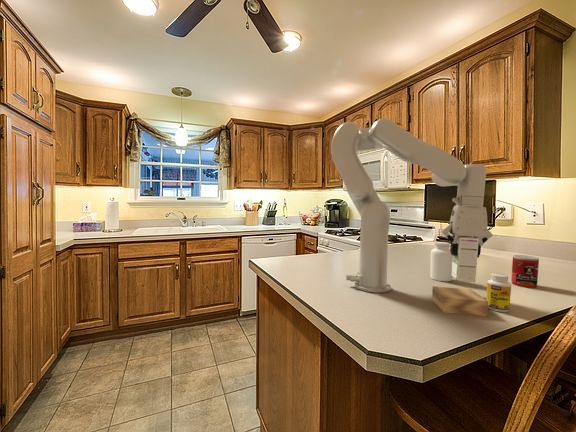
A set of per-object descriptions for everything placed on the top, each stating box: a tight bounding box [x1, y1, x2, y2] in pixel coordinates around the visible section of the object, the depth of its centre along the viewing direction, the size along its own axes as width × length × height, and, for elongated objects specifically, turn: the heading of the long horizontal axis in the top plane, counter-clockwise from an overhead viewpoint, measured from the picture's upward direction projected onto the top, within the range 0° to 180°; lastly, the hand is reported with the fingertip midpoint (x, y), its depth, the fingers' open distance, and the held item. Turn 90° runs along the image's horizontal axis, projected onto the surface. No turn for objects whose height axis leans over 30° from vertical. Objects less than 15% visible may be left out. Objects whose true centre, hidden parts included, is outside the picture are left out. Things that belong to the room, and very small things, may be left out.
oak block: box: [431, 286, 489, 317], centre depth 83 cm, size 11×11×4 cm
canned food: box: [511, 254, 540, 289], centre depth 107 cm, size 8×8×11 cm
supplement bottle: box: [485, 272, 512, 313], centre depth 82 cm, size 6×6×10 cm
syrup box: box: [451, 236, 479, 283], centre depth 94 cm, size 6×6×14 cm
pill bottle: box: [429, 241, 453, 282], centre depth 114 cm, size 8×8×15 cm
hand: (464, 255), depth 94 cm, fingers closed on syrup box, 6 cm apart
